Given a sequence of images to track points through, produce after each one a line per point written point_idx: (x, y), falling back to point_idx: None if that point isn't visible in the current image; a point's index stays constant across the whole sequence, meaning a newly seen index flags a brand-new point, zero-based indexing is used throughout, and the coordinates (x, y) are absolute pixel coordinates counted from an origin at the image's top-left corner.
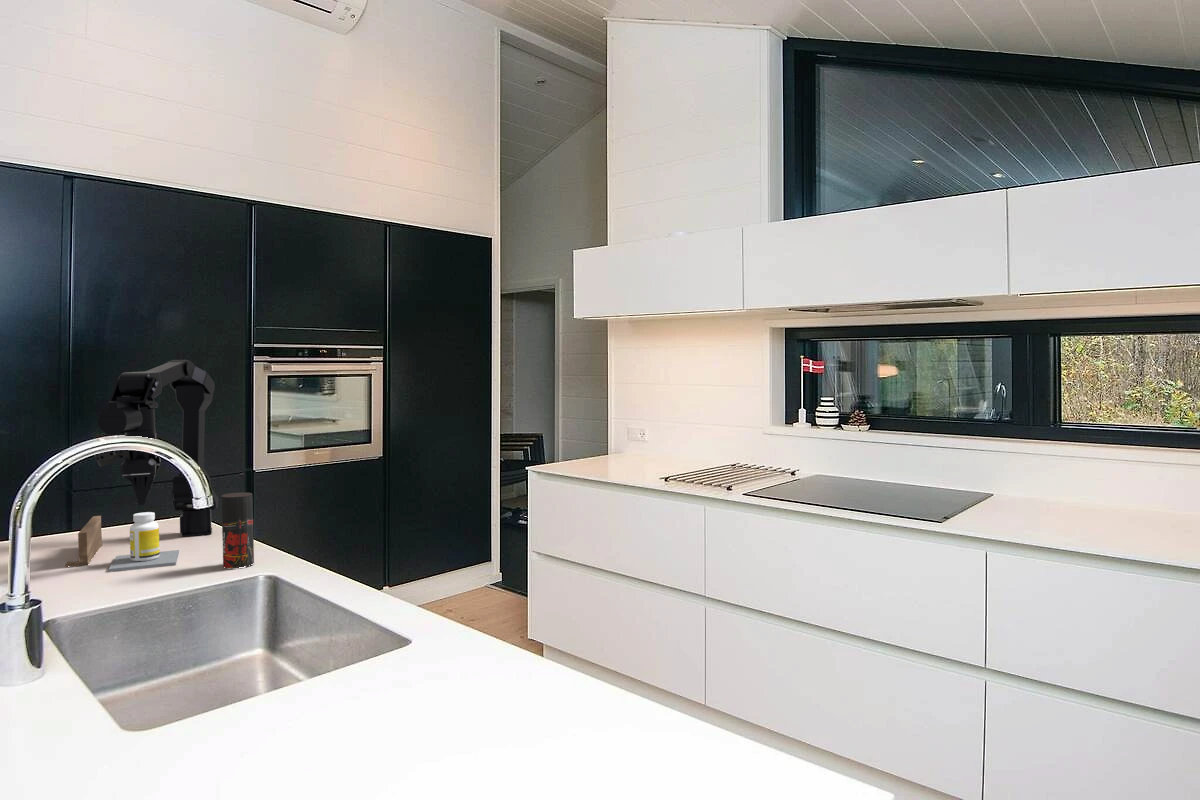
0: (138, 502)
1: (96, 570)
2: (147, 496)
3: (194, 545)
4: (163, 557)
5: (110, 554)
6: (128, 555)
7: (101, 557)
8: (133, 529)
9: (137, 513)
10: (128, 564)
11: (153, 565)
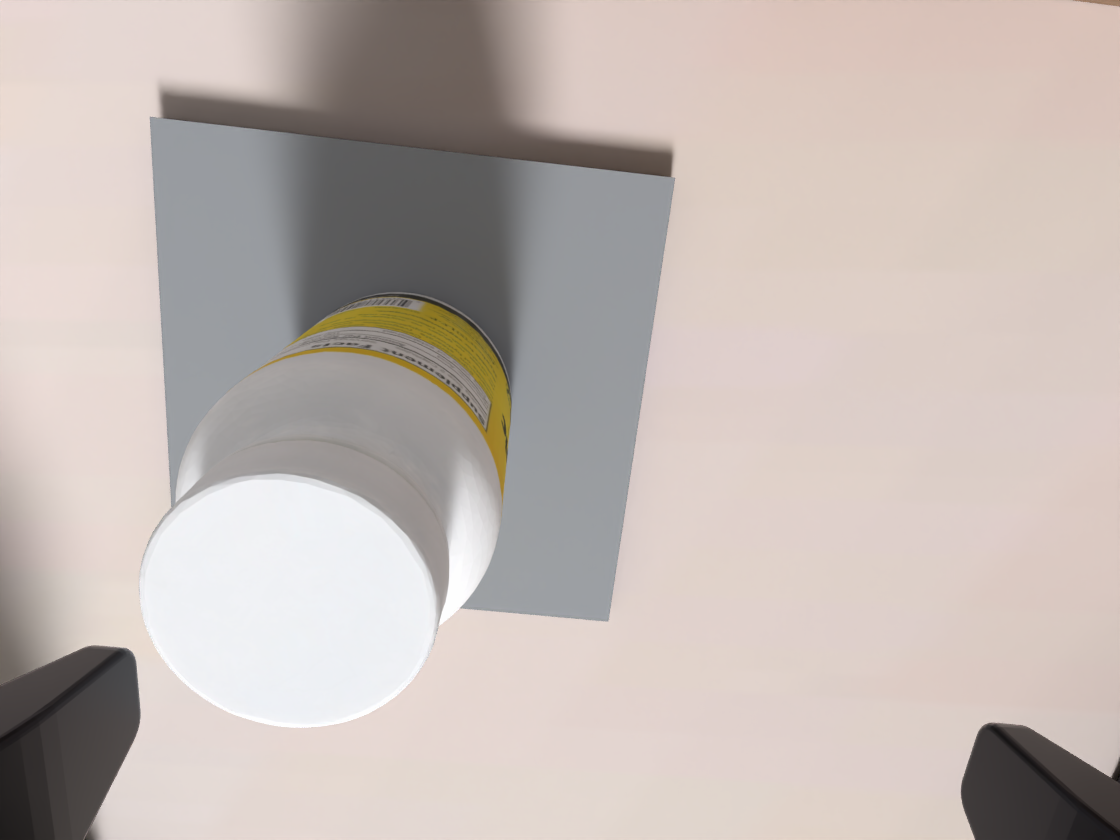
0: (45, 679)
1: (276, 14)
2: (963, 807)
3: (796, 707)
4: None
5: (891, 125)
6: (627, 273)
7: (810, 47)
8: (220, 399)
9: (369, 527)
10: (255, 271)
11: (172, 441)
